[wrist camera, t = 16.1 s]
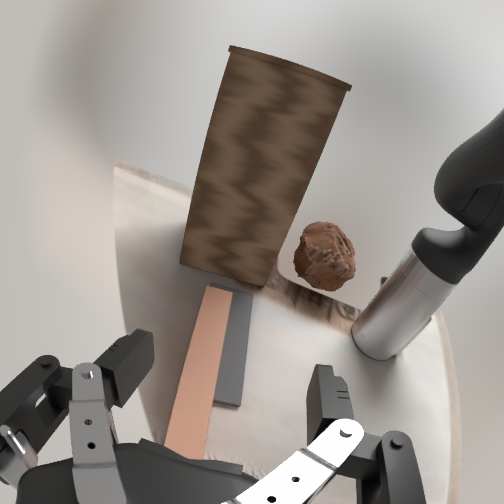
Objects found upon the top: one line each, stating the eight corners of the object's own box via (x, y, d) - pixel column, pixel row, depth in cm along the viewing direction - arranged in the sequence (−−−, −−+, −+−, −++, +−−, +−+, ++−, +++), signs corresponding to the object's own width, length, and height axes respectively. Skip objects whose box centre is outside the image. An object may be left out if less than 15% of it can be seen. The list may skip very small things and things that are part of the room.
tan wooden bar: (226, 309, 38) (232, 292, 36) (197, 467, 20) (202, 463, 18) (202, 302, 38) (206, 285, 36) (161, 458, 20) (162, 453, 18)
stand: (268, 239, 57) (329, 83, 38) (265, 288, 45) (352, 85, 26) (198, 218, 55) (243, 55, 36) (177, 263, 43) (229, 45, 24)
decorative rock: (287, 247, 56) (305, 205, 51) (335, 262, 58) (357, 224, 52) (288, 292, 46) (313, 244, 40) (346, 307, 47) (375, 265, 41)
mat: (251, 297, 42) (252, 294, 42) (239, 406, 28) (240, 405, 27) (210, 285, 42) (211, 283, 41) (182, 393, 27) (182, 391, 27)
